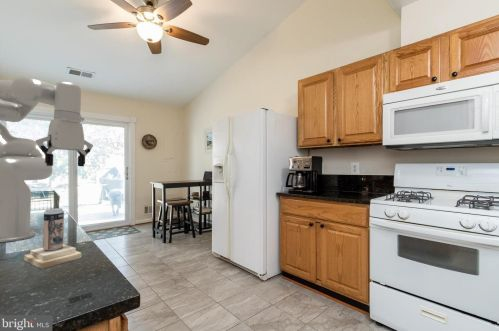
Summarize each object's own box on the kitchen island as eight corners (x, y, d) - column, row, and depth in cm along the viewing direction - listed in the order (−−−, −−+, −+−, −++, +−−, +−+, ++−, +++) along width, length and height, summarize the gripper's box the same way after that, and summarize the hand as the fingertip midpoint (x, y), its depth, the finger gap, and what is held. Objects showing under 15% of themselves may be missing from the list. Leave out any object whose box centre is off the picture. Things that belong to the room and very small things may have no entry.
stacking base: (23, 260, 73) (24, 250, 73) (62, 250, 82) (62, 241, 82) (41, 269, 67) (41, 258, 67) (81, 257, 76) (81, 248, 76)
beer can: (51, 252, 72) (52, 211, 72) (38, 250, 73) (39, 210, 73) (67, 247, 77) (67, 208, 77) (54, 245, 78) (55, 207, 78)
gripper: (87, 123, 97) (86, 166, 97) (32, 114, 82) (30, 165, 82) (98, 121, 94) (97, 166, 93) (42, 112, 79) (40, 165, 78)
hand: (66, 166), depth 88 cm, fingers open, 9 cm apart
